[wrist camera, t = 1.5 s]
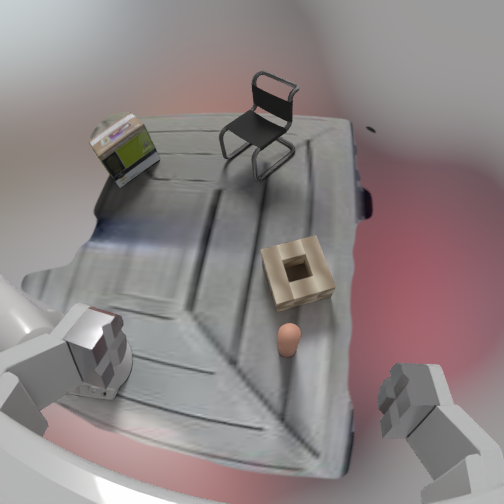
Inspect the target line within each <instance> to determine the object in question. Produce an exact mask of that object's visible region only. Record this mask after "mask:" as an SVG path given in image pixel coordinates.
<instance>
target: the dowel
mask: <svg viewBox="0 0 504 504" xmlns="http://www.w3.org/2000/svg"><path fill="white" fill-rule="evenodd" d="M300 337H301V331H300V329H299V327H298V326H296V325H295V324H292V323H287V324H284V325H283V326H281V327H280V329H279V331H278V351H279V353H280V354H281V355H282V356H283V357H291V356H292V355H294V353H295V352H296V349H297V346H298V343H299V340H300Z"/></svg>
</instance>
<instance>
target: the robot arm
mask: <svg viewBox="0 0 504 504" xmlns="http://www.w3.org/2000/svg"><path fill="white" fill-rule="evenodd" d="M123 325H124V324H123V320H122V316H120V315H118V314H114V313H111V312H108V311H105V310H102V309H98V308H95V307H92V306H88V305H85V304H83V303H77V304H75V305H74V306H73V307H72V308H71V309H70V311H69V312H68V313H67V314H66V315H65V314H63V313H61V312H59V311H57V310H55V309H42V308H41V307H39V306H38V305H36V304H35V303H33V302H32V301H31V300H29V299H28V298H27V297H26V296H25V295H23V294H22V293H21V292H20V291H19V290H18V289H16V288H15V287H14V286H12V284H10V283H9V282H8V281H7V280H6V279H5V278H4V277H3V276H2V275H1V274H0V504H229V503H223V502H218V501H212V500H208V499H203V498H199V497H195V496H190V495H186V494H182V493H178V492H174V491H171V490H168V489H164V488H160V487H158V486H154V485H151V484H148V483H145V482H142V481H139V480H136V479H133V478H130V477H128V476H125V475H122V474H120V473H117V472H115V471H112V470H110V469H107V468H104V467H102V466H100V465H97V464H95V463H93V462H91V461H88V460H86V459H84V458H82V457H80V456H77V455H75V454H74V453H71V452H69V451H67V450H65V449H64V448H62V447H60V446H58V445H56V444H54V443H52V442H50V441H48V440H47V439H45V438H43V435H44V433H45V431H46V429H47V427H48V423H47V420H46V419H45V418H44V416H43V415H42V413H41V412H40V410H42V409H43V408H45V407H47V406H48V405H50V404H51V403H53V402H55V401H56V400H58V399H59V398H61V397H62V396H64V395H65V394H72V395H78V396H85V397H92V398H99V399H107V400H113V399H114V398H115V396H116V394H117V391H118V389H119V387H120V386H121V385H122V384H123V383H124V382H125V381H126V379H127V378H128V376H129V374H130V371H131V367H132V353H131V349H130V346H129V344H128V342H127V340H126V335H125V334H124V333H123V332H122V330H121V328H122V327H123ZM390 374H391V377H389V378H387V379H385V380H384V381H383V383H382V385H381V386H380V389H379V393H378V409H379V410H380V411H381V412H382V413H383V414H384V415H383V417H382V418H381V420H380V423H381V431H382V438H407V439H406V441H407V442H408V443H409V445H410V446H411V448H412V449H413V450H414V452H415V454H416V455H417V456H418V458H419V459H420V461H421V462H422V464H423V465H424V466H425V468H426V469H427V471H428V472H429V474H430V475H431V477H432V478H433V480H434V481H433V482H432V483H430V484H429V485H427V486H426V487H424V488H423V489H422V490H421V498H422V499H421V500H422V504H504V458H503V455H502V451H501V448H500V447H499V446H498V445H497V443H496V442H495V441H494V440H493V439H492V438H491V437H490V436H488V434H487V433H486V432H485V431H484V430H483V429H482V428H481V427H480V426H479V425H478V424H477V423H476V422H474V420H473V419H472V418H471V417H470V416H469V415H468V414H467V413H465V411H464V410H463V409H462V408H460V407H459V406H458V405H454V403H453V400H452V397H451V394H450V391H449V388H448V385H447V382H446V379H445V376H444V373H443V371H442V368H441V367H440V366H439V365H434V364H411V363H396V364H395V365H393V367H392V368H391V370H390ZM105 393H106V395H105Z"/></svg>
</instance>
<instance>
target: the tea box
mask: <svg viewBox="0 0 504 504" xmlns="http://www.w3.org/2000/svg"><path fill="white" fill-rule="evenodd" d="M89 144H90V145H91V147H92V148H93V150H94V152H95V153H96V155H97V156H98V158H99V159H100V161H101V162H102V164H103V165H104V166H105V168H106V170H107V171H108V173H109V174H110V175H111V177H112V178H113V179H114V181H115V182H116V183H117V185H118V186H119V187H120V188H121V187H122V186H124V185H125V184H126V183H128V182H129V181H130V180H132V179H133V178H134V177H136V176H137V175H139V174H140V173H141V172H143V171H144V170H145V169H147V168H148V167H150V166H151V165H152V164H154V163H155V162H157V161H158V160H160V157H159V155H158V152H157V150H156V148H155V146H154V144H153V142H152V140H151V138H150V136H149V134H148V131H147V129H146V127H145V125H144V124H143V123H142V122H141V121H139V120H138V119H137V118H136V117H135V116H134V115H133V114H132V113H131V112H130V113H128V114H127V115H125V116H124V117H122V118H121V119H119V120H118V121H117V122H115V123H114V124H112V125H111V126H109V127H108V128H106V129H105V130H104V131H102V132H101V133H100V134H98V135H97V136H95V137H94V138H93V139H92V140H90V141H89Z"/></svg>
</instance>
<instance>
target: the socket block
mask: <svg viewBox="0 0 504 504" xmlns="http://www.w3.org/2000/svg"><path fill="white" fill-rule="evenodd" d="M261 256H262V263H263V266H264V270H265V273H266V276H267V280H268V283H269V287H270V290H271V294H272V297H273V301H274V304H275V308H276V311H277V312H280V311H283V310H287V309H290V308H294V307H298V306H301V305H305V304H308V303H312V302H315V301H318V300H322V299H325V298H328V297H331V296H332V294H333V292H334V289H335V284H334V281H333V279H332V276H331V273H330V271H329V268H328V265H327V262H326V260H325V257H324V255H323V252H322V249H321V247H320V244H319V242H318V239H317V236H316V235H315V236H311V237H307V238H303V239H300V240H296V241H292V242H288V243H284V244H280V245H277V246H273V247H269V248H265V249H261Z"/></svg>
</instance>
